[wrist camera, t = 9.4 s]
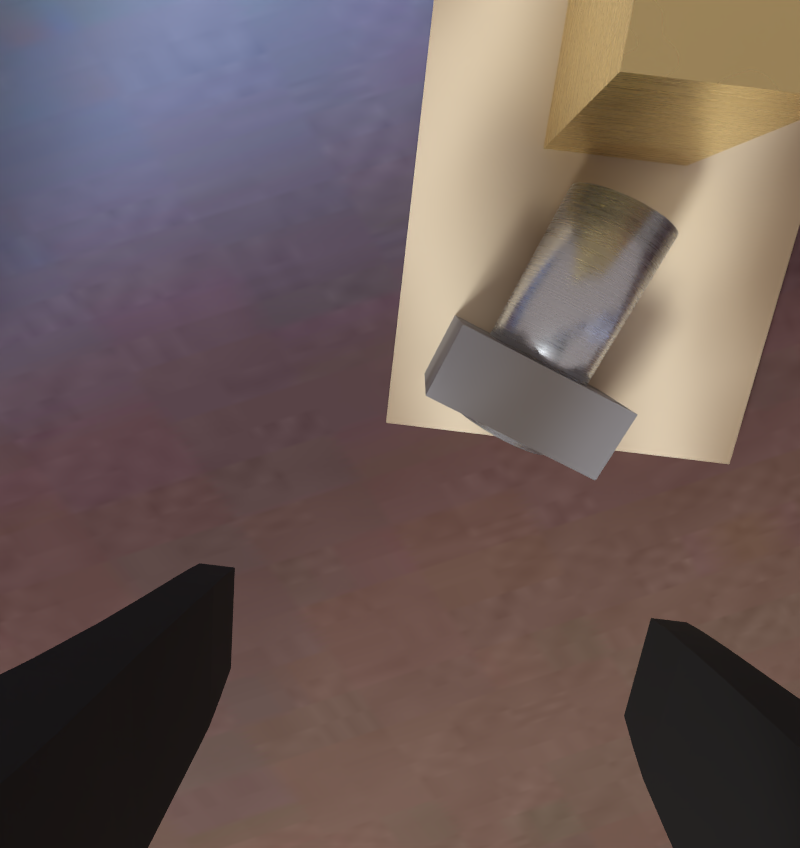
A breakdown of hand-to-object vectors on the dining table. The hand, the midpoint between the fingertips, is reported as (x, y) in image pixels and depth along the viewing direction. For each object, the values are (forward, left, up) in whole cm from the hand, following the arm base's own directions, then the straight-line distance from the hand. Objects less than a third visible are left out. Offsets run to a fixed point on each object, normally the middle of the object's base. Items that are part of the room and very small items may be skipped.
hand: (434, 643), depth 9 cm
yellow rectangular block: (-4, -12, -9) cm, 15 cm away
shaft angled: (-3, -5, -9) cm, 11 cm away
